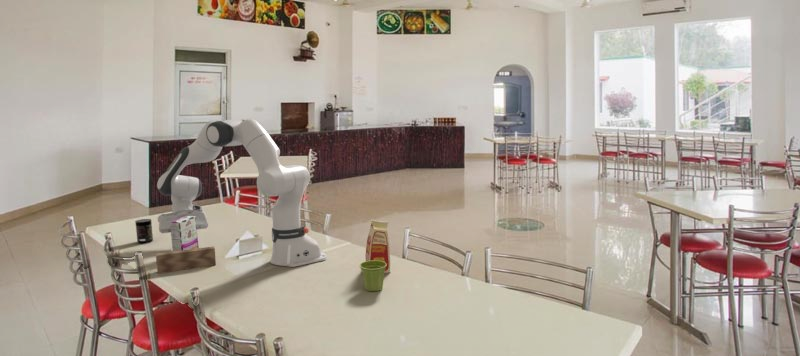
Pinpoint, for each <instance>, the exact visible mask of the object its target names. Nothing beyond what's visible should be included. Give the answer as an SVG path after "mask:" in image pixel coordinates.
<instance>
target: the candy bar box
mask: <svg viewBox="0 0 800 356" xmlns="http://www.w3.org/2000/svg"><path fill="white" fill-rule="evenodd" d="M170 229H171V232H170V236H171V248H172V252H173V251H181V250H189V249H197V248H200V247H199V237H198V229H197V226H196V216H185V217H182V218H180V219H177V220H174V221H172V222H170Z"/></svg>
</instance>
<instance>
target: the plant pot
mask: <svg viewBox="0 0 800 356" xmlns="http://www.w3.org/2000/svg"><path fill="white" fill-rule="evenodd" d="M358 266H359V268H360V271H361V272H362V273H361V274H362V279H363V286H364V288H365V289H364V290H365V291H368V292H373V291H376V292H379V291H381V290H383V287H384V278H385V273H384V271H385V267H386V266H387V264H386V263H385V262H383V261H378V260H372V261H366V260H365V261H362V262H361V263H359V265H358Z"/></svg>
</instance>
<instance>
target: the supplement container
mask: <svg viewBox="0 0 800 356" xmlns="http://www.w3.org/2000/svg"><path fill="white" fill-rule="evenodd" d="M152 224H153V223H152V219H151V218H141V219H137V220H135V232H136V240H137V241H136V242H137V243H138V244H149V243H152V242H153V241H154V237H153V236H154V233H153V225H152Z"/></svg>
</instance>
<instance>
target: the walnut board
mask: <svg viewBox="0 0 800 356" xmlns="http://www.w3.org/2000/svg"><path fill="white" fill-rule="evenodd" d="M215 250H216V248H215V246H207V247H199V248H197V249H189V250H181V251H173V250H172V251H166V252H160V253H155V259H156V261H155V262H156V271H157V274H162V273H163V274H164V273H169V272H177V271H185V270H190V269H198V268H205V267H213V266H217V263H216V251H215Z"/></svg>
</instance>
